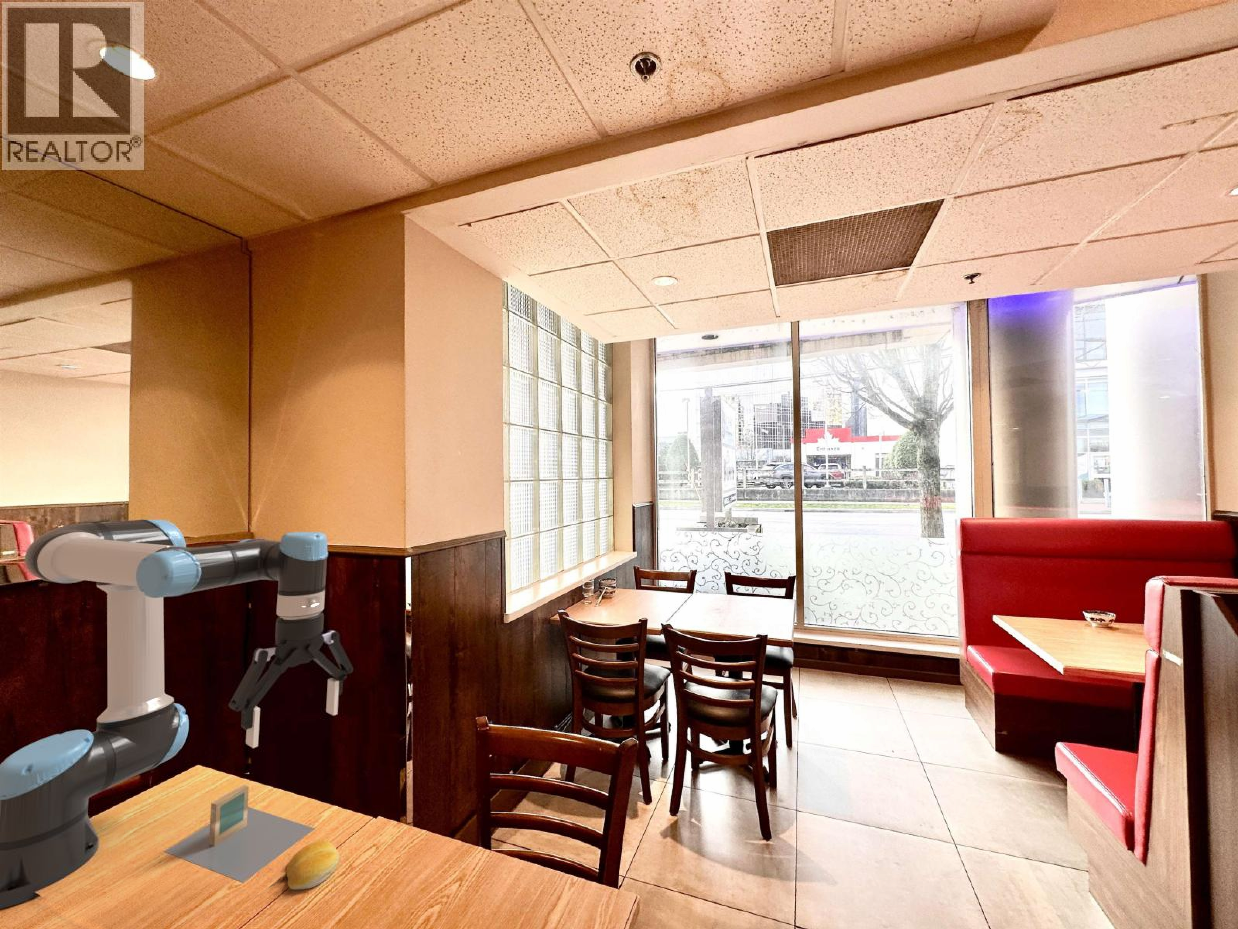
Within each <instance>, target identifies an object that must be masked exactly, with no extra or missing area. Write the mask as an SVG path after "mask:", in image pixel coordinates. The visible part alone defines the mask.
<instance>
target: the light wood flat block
mask: <svg viewBox="0 0 1238 929" xmlns="http://www.w3.org/2000/svg"><path fill="white" fill-rule="evenodd" d="M249 789H250V788H249V785H245V784H242V785H240V786H239V787H238V786H237V787H236V788H235V789H233V790H231V791H230V792H227V793H226V794H225V795H223V796H220V797H219V798H218V799H215V800H214V801H213V802H212V801H211V803H210V814H209V815H210V816H209V818H210V820H209V824H210V835H209V845H212V846H216V845H217V844H219V843H220V842H222V841H224V840H225V839H227V838H228V837H230V836H231V835H233V834H234V833H236V832H237V831H239V830H241V829H242V828H244V827H245V826H247V811H248V807H249Z"/></svg>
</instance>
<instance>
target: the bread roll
mask: <svg viewBox="0 0 1238 929" xmlns="http://www.w3.org/2000/svg"><path fill="white" fill-rule="evenodd" d="M339 860H340V854H339V852H338V850H337V848H336V847H335V845H334V844H333V843H331V841H327V840H317V841H314V842H310V843H308V844H306V845H305V846H304V847H302V848H301V849H299V850H298V851H297V852H296V853H295V854H294V855H293V856H292V858H291V859H290V860H289V861H288V864H287V866H286V877H287V879H288V880H287V885H288V887H289V889H291V890H297V891H298V890H305V889H307V890H308V889H311V888H314V887H317V886H319V885H320V884H323V882H325V881H326V880H327V879H329V878H330V877H331V875H332V874H333V873H334V872H335V870H336V869H337V867H338V865H339V862H340V861H339Z"/></svg>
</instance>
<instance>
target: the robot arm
mask: <svg viewBox="0 0 1238 929" xmlns="http://www.w3.org/2000/svg"><path fill="white" fill-rule="evenodd" d="M328 557H329V552H328V537H327V535H326V534H325V533H323V532H320V531H294V532H287V533H284V534H283V535H282V536H281V538H280V540H274V539H273V540H272V539H271V540H270V539H265V538H252V539H251V538H247V539H242V540H240V541H238V542H235V543H227V544H217V545H209V546H197V547H196V546H195V547H187V544H186V540H185V537H184V535H183V533H182V531H181V530H180V528H178V527H177V526H176V525H175V524H174V523H172V522H171V521H169V520H165V519H135V520H134V519H132V520H120V521H101V522H100V521H99V522H80V523H73V524H67V525H63V526H59V527H57V528H54V529H52V530H49V531H47V532H46V533H45V532H44V533H43V534H42V535H40V536H38V537H37V538H36V539H35V540H33V541H32V543H31V544H30V545H29V546H28V548H27V549H26V552H25V555H24V564H25V566H26V568H27V570H28V571H29V573H31V575H33V576H34V577H36V578H38V579H40V580H43V581H47V582H50V583H59V584H72V583H74V584H75V583H79V582H82V581H88V582H90V581H91V582H96V587H97V588H99V589H100V590H101V591H104V592H105V593H106V594H107V596H106V598H107V599H106V601H107V602H106V603H107V604H106V605H107V606H106V608H107V609H106V611H107V614H106V617H107V619H106V620H107V622H106V625H107V630H106V631H107V640H106V641H107V646H106V647H107V649H106V650H107V707H106V709H105V710H104V711H103V712H102V713H101V714H100V715H99V716H98V717H97V718H96V731H93V732H91V731H89V730H87V729H74V730H69V731H65V732H63V733H57V734H53V735H50V736H47V737H44V738H41V739H39V740H37V741H35V742H31V743H30V744H28V745H26V746H24V747H22V748H20V749H18V750H17V751H15V752H13V753H12V754H10V755H9V756H7V757H6V758H5V759H4V760H3V761H2V762H1V763H0V909H5V908H9V907H12V906H16V905H18V904H22V903H25V902H27V901H30V900H33V899H35V898H37V897H38V898H39V897H40V896H41V894H39V893H37V892H38V891H41V890H43V889H45V888H48V887H49V886H51V885H52V886H53V885H54V884H56V883H58V882H60V881H61V880H63V879H65V878H67V877H68V876H70V875H71V874H73V873H75V872H76V871H77V870H79V869H80V868H81V867H83V866H85V864H87V863H88V862H89V861H90V860H91V859H92V858H93V857H94V856H95V855H96V853H97V852H98V850H99V846H100V839H99V836H98V833H97V832H96V829H95V827H94V825H93V823H92V821H91V819H90V816H89V815H88V814H89V812H88V811H89V798H91V797H93V796H95V795H97V794H99V793H102V792H103V791H105V790H108V789H110V788H112V787H114V786H116V785H119V784H120V783H122V782H125V781H127V780H129V779H132V778H133V777H135V776H138V775H140V774H142V773H145V772H148V771H151V770H153V769H155V768H157V767H158V766H159V765H160V764H162V763H163V764H164V763H165V762H166V761H167V762H168V760H170V759H172V758H173V757H175V756H176V755H177V754H178V752H179V751H181V749H182V748H183V746H184V744H185V743H186V739H187V737H188V733H189V727H190V726H189V725H190V723H189V722H190V720H189V716H188V714H186V708H185V707H184V706H183V705H181V704H180V703H175V699H174V698H175V697H173V696H171V695H169V694H166V692H165V638H164V637H165V636H164V635H165V633H164V626H165V625H164V623H165V622H164V618H165V617H164V598H166V597H167V598H169V597H179V596H182V595H185V594H190V593H194V592H200V591H204V590H210V589H215V588H219V587H227V586H233V585H237V584H242V583H243V584H244V583H249V582H254V581H259V580H265V581H266V580H268V581H275V582H276V581H277V582H278V583H277V584H278V586H277V602H276V613H275V614H276V615H277V616H278V617H277V618H276V620H275V634H274V636H275V642H274V645H273V647H269V648H261V647H257V648H256V649H255V650H254V652H253V654H252V655H253V657H252V661H251V664H250V665H249V667H248V668H247V670H246V673H245V674H244V676H243V677H242V680H241V681H240V682H239V685H238V686H237V688H236V690H235V692H234V694H233V696H232V698H231V699H230V701H229V703H228V707H229V708H230V709H231V710H232V711H234V712H241V715H240V716H241V719H240V726H241V727H242V729H243V730H245V731H246V734H245V744H246V745H247V746H249V747H251V748H252V749H255V748H257V747H259V735H260V716H261V708H260V707H258V706H257V705H258V704H259V703H260V702H261V700H263V698H264V696H265V695H266V694H267V693H268V691H269V690H270V689H271V688H272V687H273V685H274V684H275V682H276V681H277V680H278V679H279V678H280V676H281V675H282V674H283V673H285V672H286V671H287V669H289V667H290V668H294V667H297V666H299V665H302V664H303V665H304V664H308V663H310V662H311V661H312V660H313V661H314V662H315V663H316V664H318V665H319V666H320V667H321V668H322V669H324V671H325V672H327V673H328V674H329V675H330V676H332V677H330V678H328V679H327V690H326V691H327V692H326V705H325V706H326V708H325V711H326V713H328V714H329V715H331V716H336V715H338V711H339V710H338V709H339V696H341V695H342V694H343V686H344V681H345V680H346V679H347V678H348V676H347V675H348V674H352V673H353V672H354V667H353V665H352V663H351V661H350V659H349V658H348V656H347V654H346V652H345V649H344V647H343V646H342V644H341V642H340V641H341V640H340V633H339V632H338V631H336V630H331V629H329V630H327V631H326V633H323V631H324V619H325V618H324V617H325V615H324V613H323V610H324V609H325V598H326V596H325V595H326V578H327V577H326V576H327V564H328V563H327V562H328V561H327V560H328ZM324 643H325V644H327V645H328V648H329V649H330V651H331V653H332V656H333V657H334V659H335V662H336V663H337V664H338V667H339V668H338V667H337V666H336V665H335V664H334V663H333V662H332V661H331V660H329V659H328V658H327V657H326V655H325V654H324V653H322V652H321V651H320V648H321V647H322V646H323V644H324ZM272 656H274V657H275V658H274V660H272V662H271V663H270V664H269V666H268V667H269V668H268V669H267V670H266V672H265V673H264V674H263V671H264V669H265V667H266V665H267V662H269V661H270V660H271V657H272ZM262 674H263V676H261V675H262ZM260 677H261V678H260Z"/></svg>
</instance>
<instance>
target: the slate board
mask: <svg viewBox="0 0 1238 929" xmlns="http://www.w3.org/2000/svg"><path fill="white" fill-rule="evenodd" d="M314 830H316V828H315V827H312V826H309V825H306V824H304V823H300V822H297V821H294V820H289V819H287V818H284V817H281V816H278V815H274V814H272V813H268V812H266V811H262V810H259V809H256V808H253V807H249V806H248V811H247V826H245V827H244V828H242V829H241V830H239V831H237V832H236V833H234V834H233V835H231V836H230V837H228V838H227V839H225V840H224V841H222V842H220V843H219V844H217V845H216V846H212V845H209V835H210V823H209V824H207V825H206V826H203V827H202V828H201V829H199V830H196V831H195V832H193V833H192V834H190V835H188V836H187V837H185V838H183V839H182V840H180V841H179V842H177V843H175V844H173V845H172V846H170V847H169V848H167V849H165V850H163V852H164V853H166V854H169V855H171V856H174V857H176V858H179V859H182V860H184V861H187V862H190V863H192V864H194V865H197V866H199V867H202V868H205V869H207V870H210V871H211V872H215V873H217V874H220V875H222V876H225V877H228V878H230V879H232V880H234V881H235V880H236V881H238V882H241V883H246V882H247V880H249V879H250V878H251V877H254V875H256V874H257V873H258V872H259V871H261V870H262V869H264V868H265V867H266V866H267V865H269V864H270V863H272V862H273V861H275V859H277V858H278V857H279V856H281V855H282V854H283V853H285V852H287V851H288V850H289V849H290V848H292V846H294V845H296V844H297V843H298V842H299V841H301V840H302V839H304V838H305V837H306V836H308V835H309V834H310V833H311V832H313V831H314Z"/></svg>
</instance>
